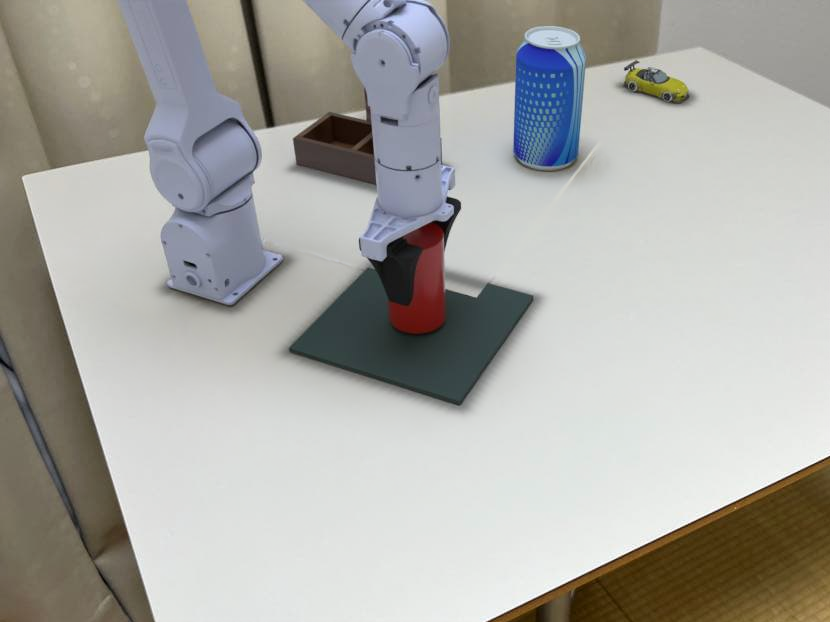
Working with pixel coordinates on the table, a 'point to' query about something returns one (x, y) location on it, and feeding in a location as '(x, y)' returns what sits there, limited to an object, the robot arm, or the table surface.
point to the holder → (338, 147)
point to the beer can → (548, 98)
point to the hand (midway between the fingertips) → (414, 285)
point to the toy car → (655, 83)
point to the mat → (413, 338)
